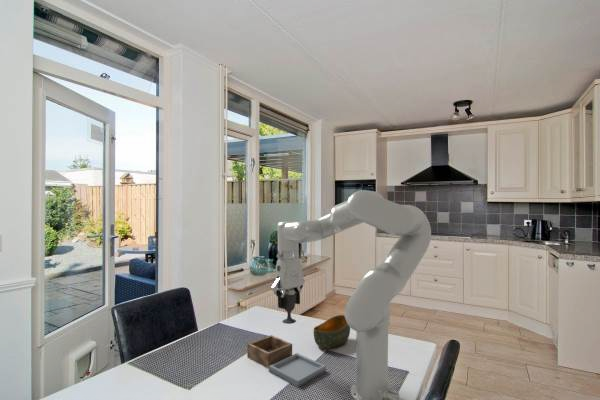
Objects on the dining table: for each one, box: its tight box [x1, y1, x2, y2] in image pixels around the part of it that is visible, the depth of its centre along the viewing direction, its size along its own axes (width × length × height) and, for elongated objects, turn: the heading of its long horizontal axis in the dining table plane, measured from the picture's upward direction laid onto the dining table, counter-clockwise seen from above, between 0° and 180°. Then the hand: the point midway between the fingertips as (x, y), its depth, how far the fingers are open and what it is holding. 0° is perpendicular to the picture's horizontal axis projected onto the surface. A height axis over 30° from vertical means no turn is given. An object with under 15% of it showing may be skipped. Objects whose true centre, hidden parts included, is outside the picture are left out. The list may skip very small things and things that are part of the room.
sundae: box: [281, 288, 298, 325], centre depth 117 cm, size 7×7×15 cm
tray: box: [268, 352, 327, 388], centre depth 113 cm, size 14×14×2 cm
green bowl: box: [313, 314, 351, 351], centre depth 137 cm, size 13×20×10 cm, turn 104°
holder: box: [246, 334, 293, 369], centre depth 124 cm, size 12×12×5 cm
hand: (289, 305), depth 117 cm, fingers closed on sundae, 6 cm apart
